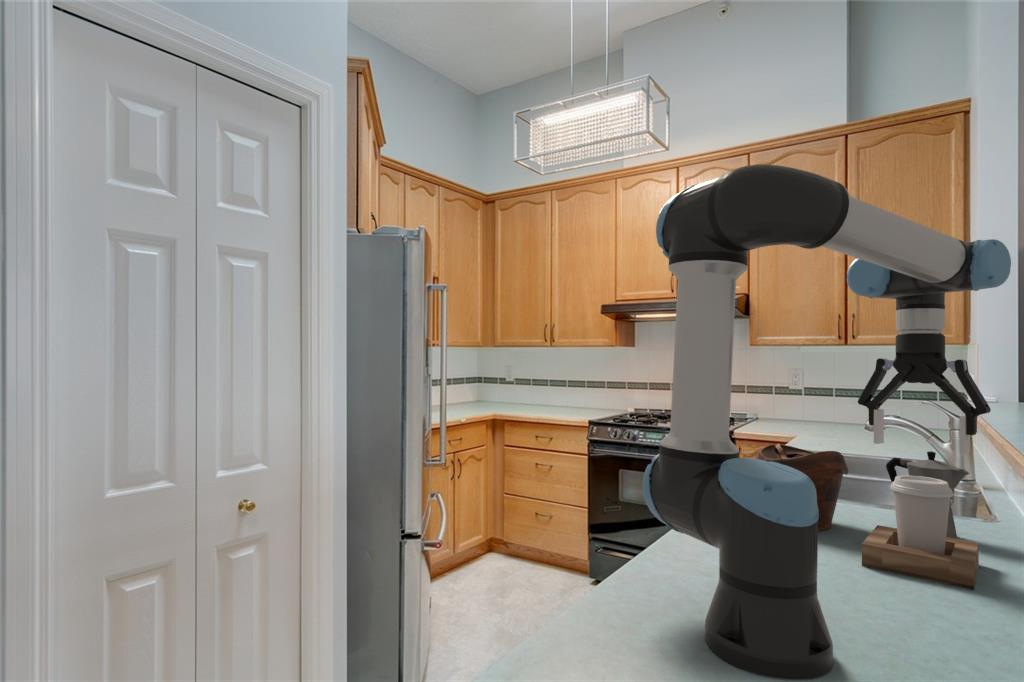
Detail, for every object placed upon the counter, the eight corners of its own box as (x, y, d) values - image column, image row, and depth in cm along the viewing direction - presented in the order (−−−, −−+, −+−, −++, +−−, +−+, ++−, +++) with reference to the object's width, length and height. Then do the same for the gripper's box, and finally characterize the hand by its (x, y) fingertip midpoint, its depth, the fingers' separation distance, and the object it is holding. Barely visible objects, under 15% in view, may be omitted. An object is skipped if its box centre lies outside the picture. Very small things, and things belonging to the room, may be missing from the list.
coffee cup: (957, 562, 106) (956, 480, 107) (950, 576, 99) (950, 488, 100) (895, 549, 113) (895, 472, 113) (885, 561, 106) (885, 479, 106)
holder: (973, 590, 95) (973, 565, 95) (861, 565, 105) (861, 543, 106) (978, 564, 107) (978, 542, 107) (877, 544, 118) (877, 525, 118)
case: (761, 506, 146) (761, 435, 146) (852, 521, 135) (852, 444, 135) (742, 523, 132) (743, 445, 132) (843, 542, 120) (843, 455, 120)
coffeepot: (977, 539, 122) (976, 454, 122) (960, 547, 116) (960, 458, 117) (895, 522, 134) (895, 444, 135) (877, 528, 129) (876, 447, 129)
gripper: (1012, 332, 100) (1012, 456, 99) (856, 335, 120) (855, 438, 119) (999, 330, 95) (999, 460, 94) (839, 333, 115) (839, 440, 114)
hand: (919, 448), depth 107 cm, fingers open, 13 cm apart
